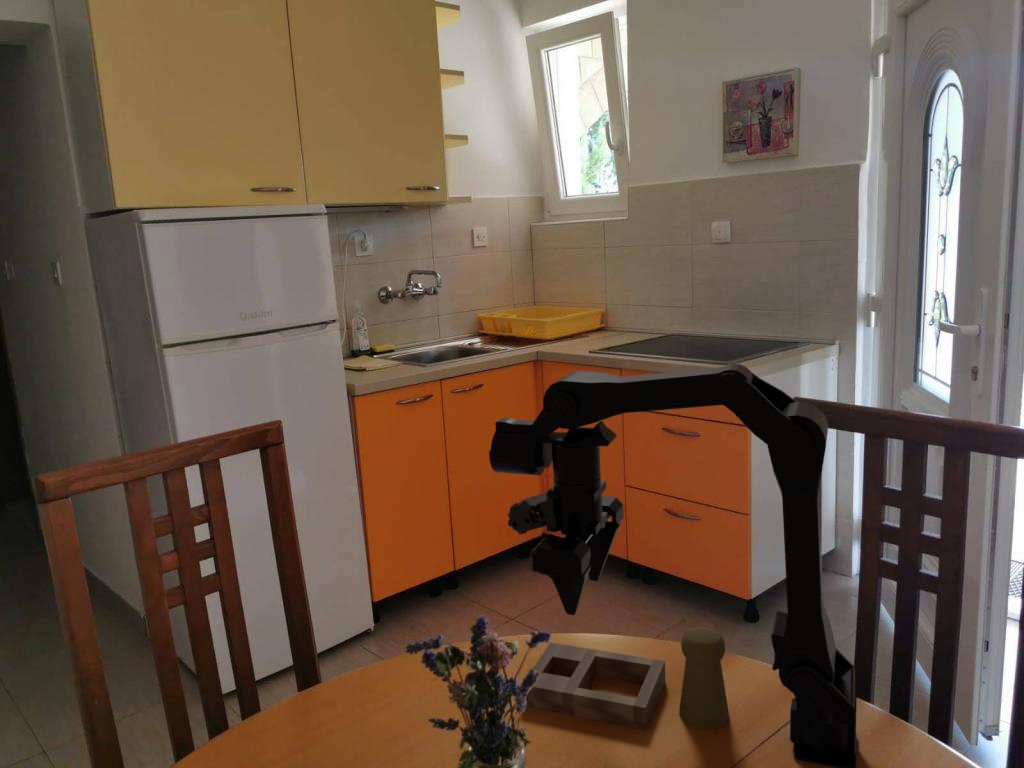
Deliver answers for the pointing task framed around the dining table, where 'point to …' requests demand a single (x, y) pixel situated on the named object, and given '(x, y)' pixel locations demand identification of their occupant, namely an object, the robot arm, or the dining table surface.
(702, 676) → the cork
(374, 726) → the dining table surface
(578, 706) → the hole block
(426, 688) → the dining table surface
